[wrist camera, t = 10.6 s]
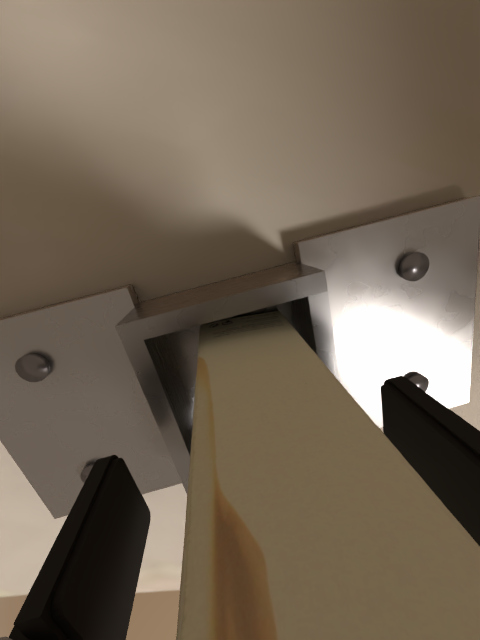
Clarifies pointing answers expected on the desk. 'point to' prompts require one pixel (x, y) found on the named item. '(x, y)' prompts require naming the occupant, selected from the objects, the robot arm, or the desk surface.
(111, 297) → the hinge base
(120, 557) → the robot arm
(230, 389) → the skincare box
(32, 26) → the desk surface
